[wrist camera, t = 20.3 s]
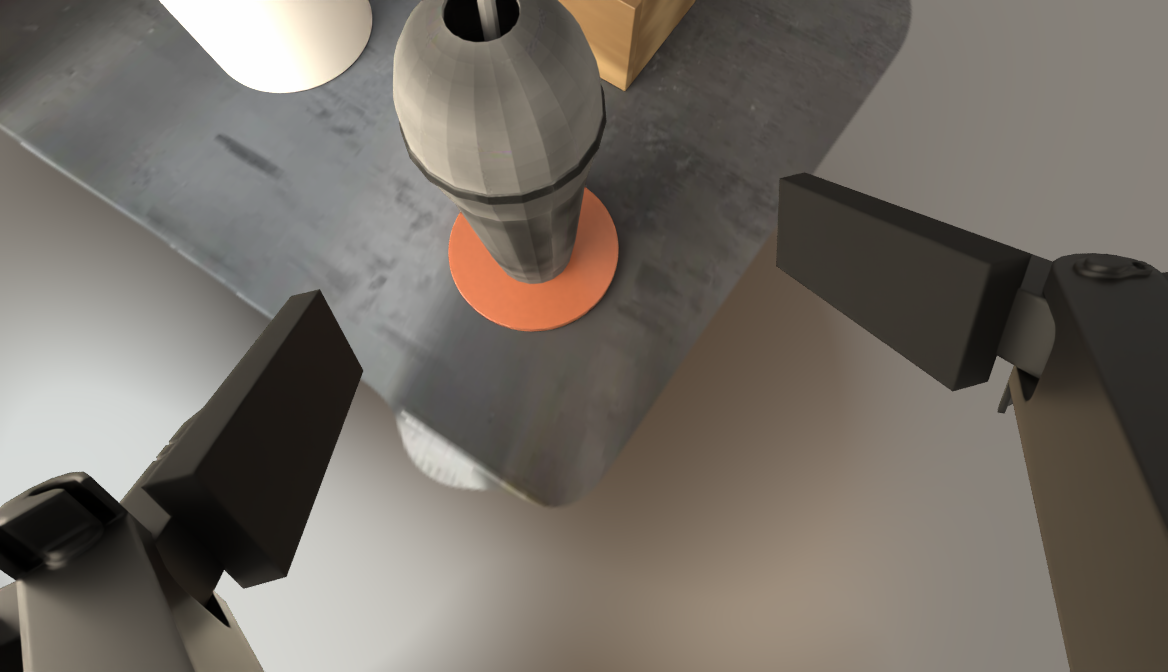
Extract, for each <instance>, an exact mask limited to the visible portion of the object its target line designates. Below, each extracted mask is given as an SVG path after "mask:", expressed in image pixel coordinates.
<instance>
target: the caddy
mask: <svg viewBox="0 0 1168 672" xmlns="http://www.w3.org/2000/svg"><path fill="white" fill-rule="evenodd" d="M558 1H559V2H560V3H561V4H562V5H563V6H564V7H565V8H566V9H567V10H568V11H569V12H570V13H571V14H572V15H573V16H574V18H575V19H576V20H577V22H578V23H579V24H580V26H581V29H582V31H583V33H584V35H585V37H586V39H587V41H588V43H589V45H590V47H591V50H592V52H593V54H594V56H595V58H596V61H597V65H598V69H599V73H600V77H601V78H602V79H604V80H606V81H608V82H609V83H611V84H613V85H615V86H616V87H618V88H620V89H622V90H623V91H626V89H627V88H628V87H629V86H630V84H631V83H632V82H633V81H634V79H635V78H636V77H637V75H638V74H639V73H640V72H641V70H642V69H643V68H644V66H645V65H646V64H647V63H648V61H649V60H650V59H651V57H652V56H653V55H654V54H655V52H656V51H657V50H658V48H659V47H660V46H661V45H662V43H663V42H664V41H665V39H666V38H667V37H668V36H669V34H670V33H671V32H672V31H673V29H674V28H675V27H676V25H677V24H678V23H679V22H680V20H681V19H682V18H683V16H684V15H685V14H686V13H687V11H688V10H689V9H690V7H691V6H692V5H693V4H694V2H695V1H696V0H558Z"/></svg>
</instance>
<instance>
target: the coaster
mask: <svg viewBox="0 0 1168 672" xmlns="http://www.w3.org/2000/svg"><path fill="white" fill-rule="evenodd" d="M618 251H619V246H618V237H617V232H616V228H615V225H614V223H613V220H612V218H611V216H610V214H609V212H608V211H607V209H606V208H605V206H604V205H603V204H602V202H601V201H600V200H599V199H598V198H597V197H596V196H595V195H594V194H593V193H592V192H591V191H589V190H588V189H587V188H586V187H585V188H584V194H583V200H582V206H581V211H580V217H579V223H578V229H577V235H576V240H575V244H574V247H573V251H572V254H571V258H570V261H569V263H568V265H567V266H566V268H565V269H564V271H563V272H562V273H561V274H559V275H558V276H557V277H555V278H554V279H552V280H549V281H547V282H544V283H539V284H527V283H523V282H519V281H517V280H515V279H513V278H512V277H510V276H509V275H507V274H506V272H505V271H504V270H503V269H502V268H501V267H500V265H499V264H498V263H497V262H496V261H495V259H494V258H493V257H492V256H491V254H490V253H489V251H488V250H487V249H486V247H485V246H484V244H483V243H482V241H481V240H480V239H479V237H478V236H477V234H476V233H475V231H474V230H473V228H472V227H471V226H470V224H469V223H468V221H467V220H466V218H465V217H464V216H463V214H462V213H461V212H460V214H459V215H458V217H457V219H456V221H455V224H454V226H453V229H452V232H451V236H450V241H449V264H450V269H451V273H452V276H453V279H454V281H455V283H456V286H457V288H458V289H459V291H460V292H461V294H462V296H463V297H464V298H465V300H466V301H467V302H468V303H469V304H470V305H471V307H473V308H474V309H475V310H476V311H477V312H478V313H479V314H481V315H482V316H484V317H485V318H487V319H488V320H490V321H492V322H494V323H496V324H498V325H501V326H504V327H507V328H510V329H515V330H520V331H545V330H550V329H555V328H558V327H562V326H565V325H567V324H569V323H571V322H573V321H576V320H577V319H579V318H580V317H582V316H584V315H585V314H586V313H588V312H589V311H590V310H591V309H592V308H594V306H595V305H596V304H597V303H598V302H599V301H600V300H601V299H602V297H603V296H604V294H605V293H606V292H607V290H608V288H609V286H610V284H611V282H612V280H613V277H614V274H615V271H616V266H617V261H618Z"/></svg>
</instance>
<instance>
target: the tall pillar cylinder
mask: <svg viewBox="0 0 1168 672" xmlns="http://www.w3.org/2000/svg"><path fill="white" fill-rule="evenodd" d="M159 1H160V2H161V3H162V4H163V5H164V6H165V7H166V8H167V9H168V10H169V11H170V12H171V13H172V14H173V16H174V17H175V18H176V19H177V20H178V21H179V22H180V23H181V24H182V25H183V26H184V27H185V28H186V30H187V31H188V32H189V33H190V34H191V35H192V36H193V37H194V38H195V39H196V40H197V41H198V42H199V43H200V45H201V46H202V47H203V48H204V49H205V50H206V51H207V52H208V53H209V54H210V55H211V56H212V57H213V58H214V60H215V61H216V62H217V63H218V64H219V65H220V66H221V67H222V68H223V69H224V70H225V71H226V72H227V73H228V74H229V75H230V76H231V77H233V78H234V79H235V80H237V81H238V82H240V83H242V84H244V85H246V86H248V87H251V88H254V89H257V90H261V91H266V92H274V93H289V92H298V91H303V90H307V89H311V88H314V87H317V86H319V85H322V84H324V83H326V82H328V81H330V80H332V79H334V78H335V77H337V76H338V75H340V74H341V73H343V72H344V71H345V70H346V69H348V68H349V67H350V66H351V65H352V64H353V63H354V62H355V61H356V59H357V58H358V57H359V56H360V54H361V53H362V51H363V50H364V48H365V46H366V44H367V42H368V39H369V37H370V33H371V28H372V11H371V7H370V3H369V1H368V0H159Z"/></svg>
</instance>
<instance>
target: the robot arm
mask: <svg viewBox="0 0 1168 672" xmlns="http://www.w3.org/2000/svg"><path fill="white" fill-rule="evenodd" d="M776 266H777V267H778V268H780V269H781V270H783V271H784V272H786V273H787V274H788V275H790V276H791V277H793V278H794V279H795V280H797V281H798V282H799V283H801V284H802V285H804V286H805V287H807V288H808V289H809V290H811V291H812V292H814V293H815V294H817V295H818V296H819V297H821V298H822V299H823V300H825V301H826V302H828V303H829V304H830V305H832V306H833V307H835V308H836V309H837V310H839V311H840V312H842V313H843V314H844V315H846V316H847V317H849V318H850V319H852V320H853V321H854V322H856V323H857V324H859V325H860V326H861V327H863V328H864V329H866V330H867V331H868V332H870V333H871V334H873V335H874V336H875V337H877V338H878V339H880V340H881V341H882V342H884V343H885V344H887V345H888V346H890V347H891V348H893V349H894V350H895V351H897V352H898V353H900V354H901V355H902V356H904V357H905V358H906V359H908V360H909V361H911V362H912V363H914V364H915V365H916V366H918V367H919V368H920V369H922V370H923V371H925V372H926V373H927V374H929V375H930V376H932V377H933V378H935V379H936V380H937V381H939V382H940V383H942V384H943V385H945V386H946V387H947V388H949V389H950V390H951V391H956V390H959V389H963V388H966V387H970V386H974V385H977V384H981V383H984V382H987V381H988V380H989V377H990V374H991V371H992V368H993V365H994V362H995V360H996V357H997V356H999V357H1001V358H1003V359H1004V360H1006V361H1008V362H1010V363H1011V364H1013V365H1014V367H1013V370H1012V372H1011V375H1010V377H1009V380H1008V383H1007V385H1006V388H1005V391H1004V394H1003V396H1002V399H1001V401H1000V404H999V407H998V412H999V413H1005V411H1006V409H1007V406H1009V405H1011V404H1013V406H1014V410H1015V415H1016V420H1017V424H1018V429H1019V433H1020V438H1021V443H1022V448H1023V452H1024V457H1025V462H1026V466H1027V471H1028V476H1029V480H1030V485H1031V490H1032V494H1033V499H1034V503H1035V508H1036V513H1037V518H1038V522H1039V527H1040V532H1041V537H1042V541H1043V546H1044V551H1045V555H1046V560H1047V565H1048V569H1049V574H1050V578H1051V583H1052V588H1053V592H1054V597H1055V601H1056V606H1057V611H1058V616H1059V621H1060V625H1061V630H1062V635H1063V639H1064V644H1065V649H1066V653H1067V658H1068V663H1069V667H1070V672H1168V272H1166V273H1161V272H1160V271H1158V270H1157V269H1155V268H1154V267H1153V266H1151V265H1149V264H1147V263H1145V262H1143V261H1138V260H1135V259H1131V258H1126V257H1121V256H1117V255H1109V254H1096V253H1090V254H1089V253H1088V254H1073V255H1067V256H1063V257H1060V258H1058V259H1056V260H1055V261H1053V262H1052V261H1049V260H1047V259H1044V258H1041V257H1038V256H1035V255H1033V254H1030V253H1027V252H1025V251H1022V250H1019V249H1016V248H1013V247H1011V246H1008V245H1005V244H1002V243H1000V242H997V241H994V240H991V239H988V238H985V237H983V236H980V235H977V234H975V233H971V232H969V231H966V230H963V229H961V228H958V227H955V226H952V225H949V224H947V223H944V222H941V221H938V220H935V219H933V218H930V217H927V216H925V215H922V214H919V213H916V212H913V211H910V210H908V209H905V208H902V207H899V206H897V205H894V204H891V203H888V202H886V201H883V200H880V199H877V198H875V197H872V196H869V195H866V194H863V193H861V192H858V191H855V190H852V189H849V188H847V187H844V186H841V185H838V184H835V183H833V182H830V181H827V180H824V179H822V178H819V177H816V176H813V175H811V174H808V173H801V174H796V175H792V176H788V177H784V178H780V186H779V211H778V236H777V261H776ZM362 373H363V369H362V367H361V365H360V364H359V362H358V360H357V358H356V356H355V354H354V352H353V350H352V349H351V347H350V345H349V343H348V341H347V339H346V337H345V335H344V334H343V332H342V330H341V328H340V326H339V324H338V322H337V320H336V319H335V317H334V315H333V313H332V311H331V309H330V307H329V306H328V304H327V302H326V300H325V298H324V296H323V294H322V292H321V291H320V289H319V290H315V291H311V292H307V293H303V294H298V295H294V296H291V297H290V298H289V300H288V301H287V302H286V303H285V305H284V306H283V307H282V308H281V310H280V311H279V312H278V314H277V315H276V316H275V317H274V319H273V320H272V321H271V322H270V324H269V325H268V326H267V327H266V329H265V330H264V331H263V333H262V334H261V335H260V336H259V338H258V339H257V340H256V341H255V343H254V344H253V345H252V346H251V348H250V349H249V350H248V352H247V353H246V354H245V356H244V357H243V358H242V359H241V360H240V362H239V363H238V365H237V366H236V367H235V368H234V369H233V371H232V372H231V373H230V374H229V376H228V377H227V378H226V379H225V381H224V382H223V383H222V385H221V386H220V387H219V388H218V390H217V391H216V392H215V393H214V395H213V396H212V397H211V399H210V400H209V401H208V402H207V404H206V405H205V406H204V407H203V408H202V409H201V410H200V411H199V412H197V413H196V414H195V415H193V416H192V417H191V418H190V419H188V420H187V421H186V422H185V423H184V424H183V425H182V426H181V427H180V429H179V430H178V431H177V432H176V433H175V435H174V436H173V437H172V438H171V440H170V441H169V445H166V446H165V447H164V448H163V450H162V451H161V452H160V453H159V455H158V456H157V457H156V458H157V460H156V461H153V462H152V463H151V465H150V466H149V467H148V468H147V469H146V471H145V472H144V473H143V474H142V476H141V477H140V478H139V479H138V481H137V482H136V483H135V484H134V485H133V487H132V488H131V489H130V490H129V492H128V493H127V494H126V495H125V496H124V498H123V499H122V500H121V501H120V503H118V501H116V500H115V499H114V498H113V497H112V496H111V495H110V494H109V493H108V492H107V491H106V490H105V489H104V488H102V487H101V486H100V485H99V484H98V483H97V482H96V481H95V480H94V479H93V478H92V477H91V476H89V475H88V474H86V473H85V472H72V473H67V474H64V475H61V476H58V477H55V478H51V479H49V480H47V481H45V482H43V483H41V484H39V485H37V486H34V487H32V488H30V489H28V490H27V491H25V492H23V493H21V494H20V495H18V496H16V497H15V498H13V499H11V500H10V501H8V502H6V503H5V504H4V505H2V506H1V507H0V570H2V571H3V572H4V573H6V574H7V575H9V576H10V577H12V578H13V579H15V580H16V581H15V582H13V583H11V584H9V585H7V586H5V587H2V588H0V672H264V671H263V668H262V667H261V665H260V663H259V661H258V660H257V658H256V656H255V654H254V652H253V650H252V649H251V647H250V645H249V643H248V641H247V640H246V638H245V636H244V634H243V632H242V631H241V629H240V627H239V625H238V624H237V621H236V620H235V618H234V616H233V614H232V612H231V611H230V609H229V607H228V605H227V603H226V602H225V601H224V600H223V599H222V598H221V597H220V596H219V595H218V594H217V593H215V591H214V589H215V587H216V585H217V583H218V581H219V579H220V577H221V575H222V573H223V571H224V570H225V571H226V572H227V573H228V574H229V575H230V576H231V577H232V578H233V579H234V580H235V581H236V582H237V583H238V584H239V585H240V586H241V587H242V588H248V587H252V586H255V585H259V584H262V583H266V582H269V581H273V580H277V579H280V578H283V577H286V576H287V574H288V571H289V569H290V566H291V563H292V561H293V558H294V555H295V552H296V550H297V547H298V545H299V542H300V539H301V536H302V534H303V531H304V528H305V526H306V523H307V520H308V518H309V515H310V512H311V510H312V507H313V504H314V501H315V499H316V496H317V494H318V491H319V488H320V486H321V483H322V480H323V477H324V475H325V472H326V469H327V467H328V464H329V461H330V459H331V456H332V453H333V451H334V448H335V445H336V442H337V440H338V437H339V434H340V432H341V429H342V426H343V424H344V421H345V418H346V416H347V413H348V410H349V408H350V405H351V402H352V399H353V397H354V394H355V392H356V389H357V386H358V383H359V381H360V378H361V376H362Z"/></svg>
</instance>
